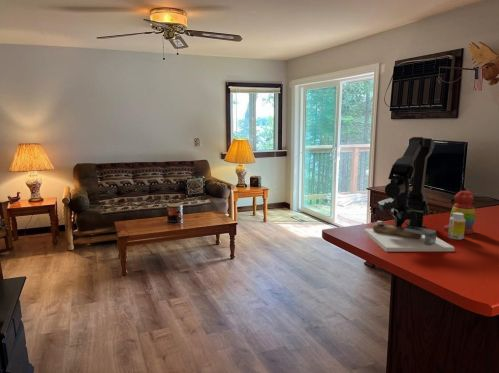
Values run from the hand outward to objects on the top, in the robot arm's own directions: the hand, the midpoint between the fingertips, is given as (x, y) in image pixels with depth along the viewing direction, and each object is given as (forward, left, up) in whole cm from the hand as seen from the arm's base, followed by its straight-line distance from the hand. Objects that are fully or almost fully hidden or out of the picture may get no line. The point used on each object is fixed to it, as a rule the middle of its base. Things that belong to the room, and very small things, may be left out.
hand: (397, 229), depth 151 cm
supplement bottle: (+3, +23, -3) cm, 23 cm away
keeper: (+11, +3, -1) cm, 12 cm away
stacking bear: (-7, +31, -3) cm, 32 cm away
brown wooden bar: (+3, -2, -1) cm, 3 cm away
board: (+7, 0, -3) cm, 7 cm away
